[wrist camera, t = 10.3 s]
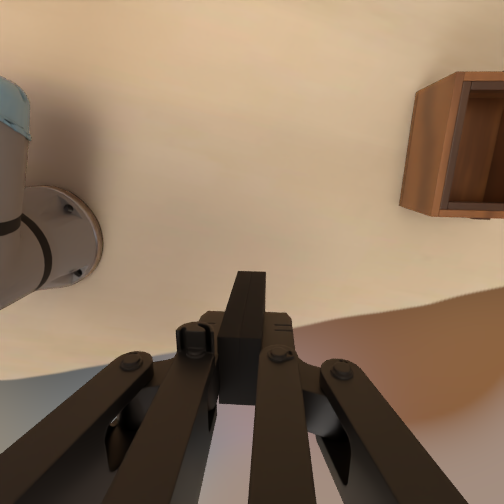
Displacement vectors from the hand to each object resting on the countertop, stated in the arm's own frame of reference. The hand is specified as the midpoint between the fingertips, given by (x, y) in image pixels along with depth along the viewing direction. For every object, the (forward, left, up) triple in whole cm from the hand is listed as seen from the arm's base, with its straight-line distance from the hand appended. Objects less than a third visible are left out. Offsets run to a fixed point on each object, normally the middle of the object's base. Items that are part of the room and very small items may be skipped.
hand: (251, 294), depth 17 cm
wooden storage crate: (+18, +9, -24) cm, 31 cm away
